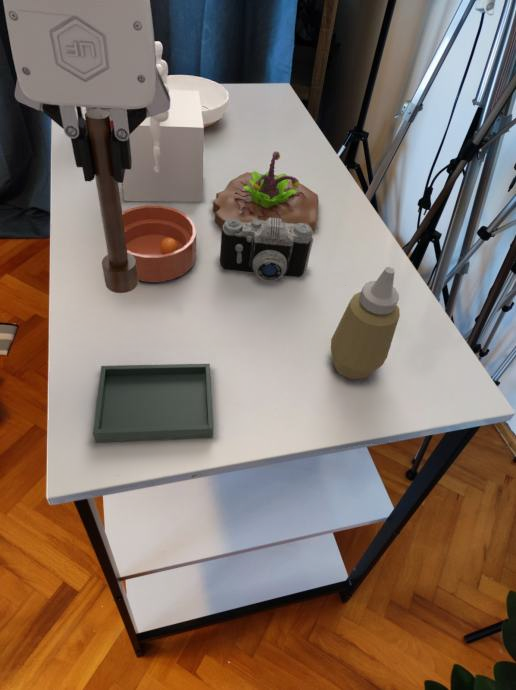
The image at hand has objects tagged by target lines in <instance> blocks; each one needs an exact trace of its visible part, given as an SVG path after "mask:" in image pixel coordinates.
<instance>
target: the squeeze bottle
mask: <svg viewBox="0 0 516 690" xmlns="http://www.w3.org/2000/svg"><path fill="white" fill-rule="evenodd" d="M395 272H396V271H395V269H394V267H390V266H386V267H385V268H384V269H383V271H382V272H381V273H380V275H379V276H378V278H377V279H376V280H370V281H368V282H366V283H365V284H364V285H363V286H362V287H361V291H359V292H357V293H354V295H353V296H352V298H351V299H350V300H349V302H348V304H347V306H346V308H345V311H344V312H343V314H342V317H341V318H340V321H339V323H338V325H337V326H336V329H335V331H334V332H333V334H332V337H331V339H330V353H331V359H332V364H333V366H334V368H335V370H336V371H337V372H338V373H339V375H341V376H343V377H345V378H347V379H349V380H350V379H351V380H356V381H358V380H364V379H367V377H369V376H370V375H372V374H373V373H374V372H376V371H377V370H378V369H380V368H381V367H383V365H384V364H385V362H386V360H387V358H388V355H389V352H390V350H391V349H390V348H391V345H392V342H393V339H394V335H395V333H396V329H397V326H398V323H399V320H400V315H401V313H400V307H399V306H398V302H399V300H400V294H399V292H398V290H397V289H396V288H395V287H394V280H395V279H394V278H395V274H396V273H395Z"/></svg>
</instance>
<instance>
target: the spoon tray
mask: <svg viewBox="0 0 516 690" xmlns="http://www.w3.org/2000/svg"><path fill="white" fill-rule="evenodd" d="M210 365H211V364H210V363H173V364H169V363H168V364H167V363H166V364H128V365H127V364H125V365H124V364H123V365H121V364H120V365H101V366H100V373H99V381H98V389H97V398H96V403H95V404H96V406H95V413H94V421H93V427H92V428H93V430H92V435H93V438H94V442H95V443H109V442H110V443H111V442H133V441H156V440H157V441H158V440H180V439H204V438H213V437H214V417H213V403H212V402H213V398H212V378H211V366H210Z"/></svg>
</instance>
